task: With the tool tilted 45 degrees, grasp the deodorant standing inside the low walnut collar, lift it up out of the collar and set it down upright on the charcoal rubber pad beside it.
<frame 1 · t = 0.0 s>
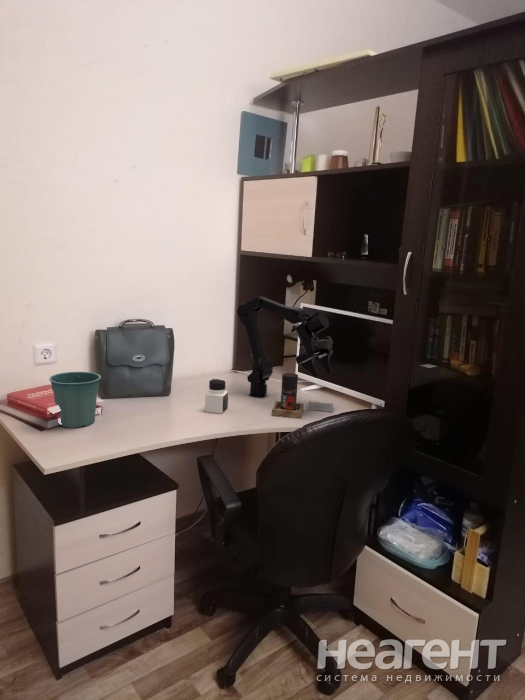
hand: (323, 375, 190), 15 cm above the table, tool tilted 35°, fingers open, 9 cm apart
medicine bottle: (216, 410, 190), on the table
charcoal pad: (320, 407, 199), on the table
walnut collar: (287, 412, 191), on the table
deodorant: (287, 413, 191), resting in walnut collar
flower pot: (76, 422, 172), on the table
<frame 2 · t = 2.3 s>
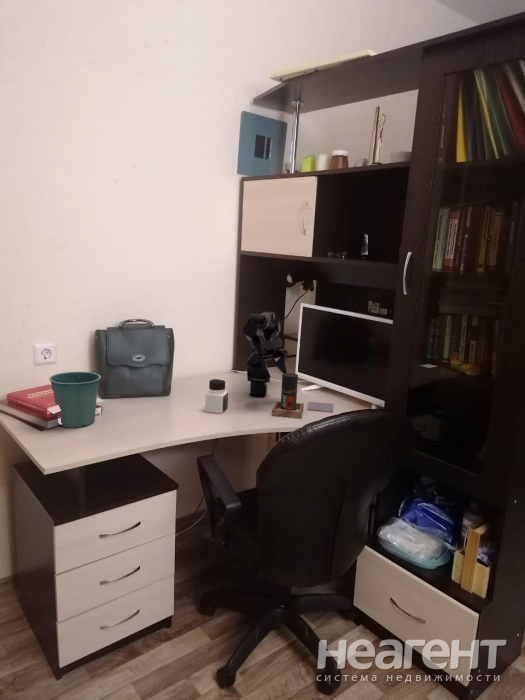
hand: (278, 375, 193), 13 cm above the table, tool tilted 45°, fingers open, 9 cm apart
nothing on the table moved.
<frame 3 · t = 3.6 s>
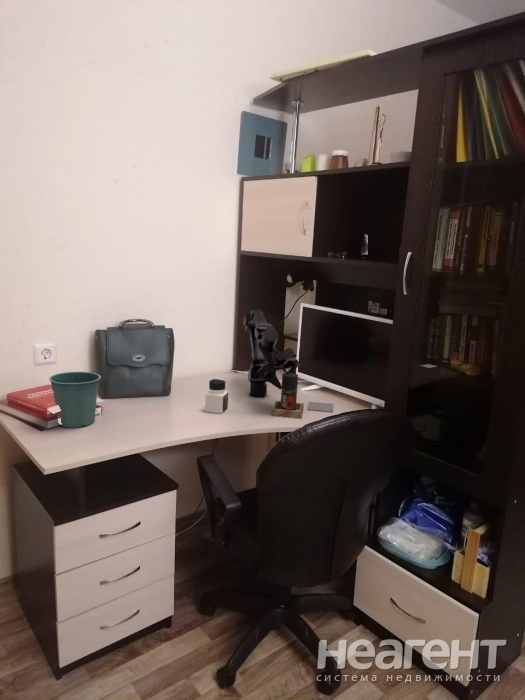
hand: (289, 386, 189), 10 cm above the table, tool tilted 45°, fingers open, 9 cm apart
nothing on the table moved.
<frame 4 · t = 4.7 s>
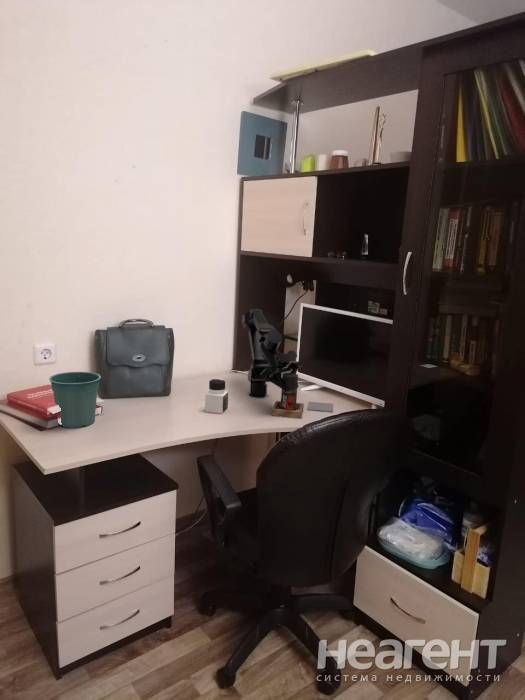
hand: (292, 389, 188), 10 cm above the table, tool tilted 45°, fingers closed on deodorant, 6 cm apart
deodorant: (287, 412, 191), resting in walnut collar, touching gripper
everything else where it was.
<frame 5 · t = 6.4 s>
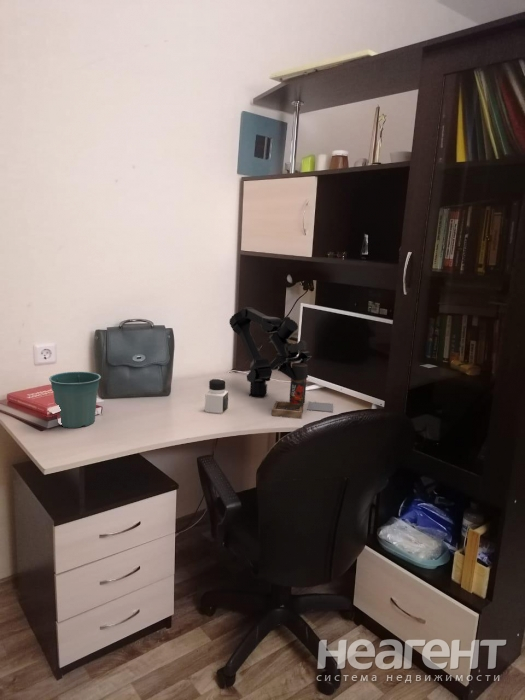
hand: (301, 379, 190), 13 cm above the table, tool tilted 45°, fingers closed on deodorant, 6 cm apart
deodorant: (296, 402, 193), point 3 cm above the table, touching gripper
everything else where it was.
when the fingers open (11 cm above the table, at t = 8.4 s): deodorant stays where it is, resting on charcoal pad.
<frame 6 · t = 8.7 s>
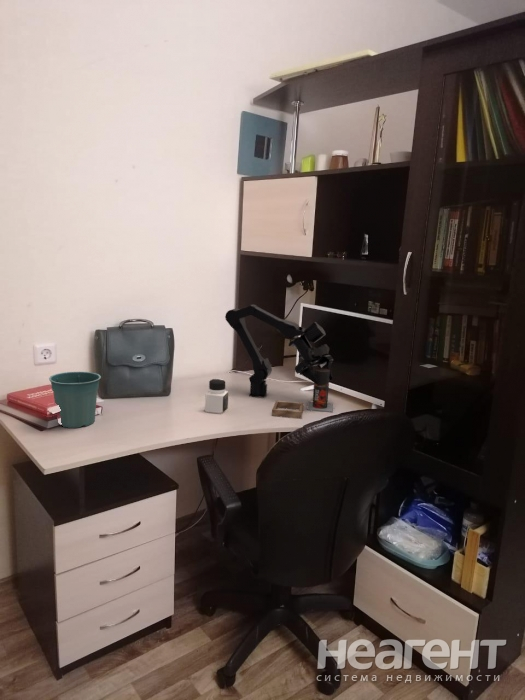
hand: (325, 381, 196), 11 cm above the table, tool tilted 45°, fingers open, 9 cm apart
deodorant: (319, 406, 199), resting on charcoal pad
everything else where it was.
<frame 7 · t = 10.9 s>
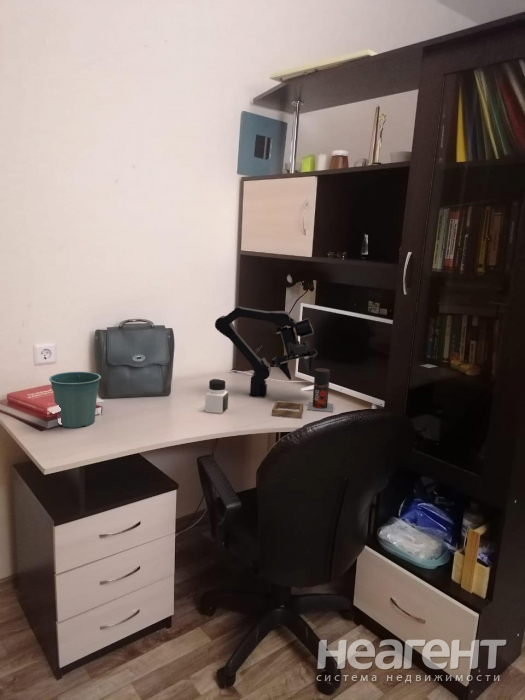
hand: (300, 377, 203), 10 cm above the table, tool tilted 25°, fingers open, 9 cm apart
nothing on the table moved.
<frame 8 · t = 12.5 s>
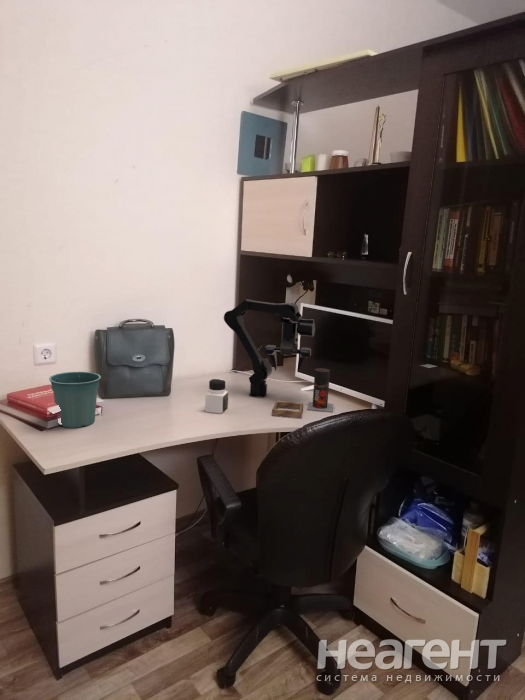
hand: (286, 371, 206), 12 cm above the table, tool pointing down, fingers open, 9 cm apart
nothing on the table moved.
at the end: deodorant inside the target area (0.2 cm from its centre), resting on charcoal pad; deodorant tilted 0°; the gripper is holding nothing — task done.
